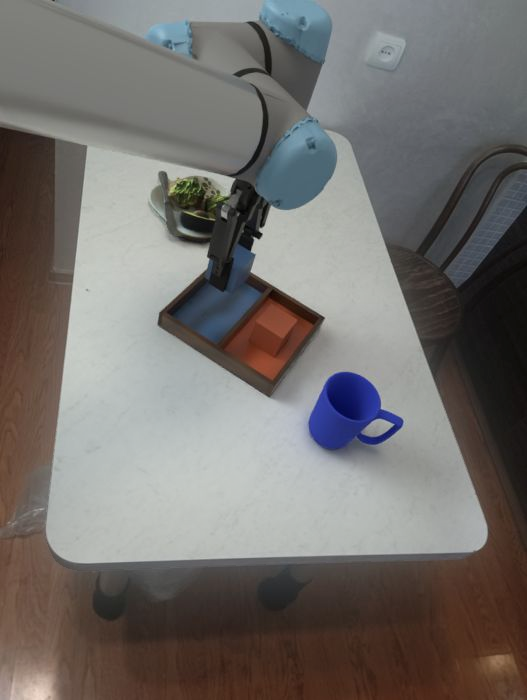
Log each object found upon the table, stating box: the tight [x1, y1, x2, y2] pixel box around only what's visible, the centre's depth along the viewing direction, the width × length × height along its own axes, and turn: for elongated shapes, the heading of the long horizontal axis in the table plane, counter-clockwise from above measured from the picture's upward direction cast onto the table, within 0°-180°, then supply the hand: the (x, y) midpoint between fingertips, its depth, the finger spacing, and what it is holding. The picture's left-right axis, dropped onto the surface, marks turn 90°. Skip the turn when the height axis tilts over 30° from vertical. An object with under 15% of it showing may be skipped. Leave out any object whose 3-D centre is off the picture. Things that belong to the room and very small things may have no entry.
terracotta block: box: [249, 304, 298, 358], centre depth 85 cm, size 5×5×5 cm
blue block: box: [205, 244, 256, 295], centre depth 81 cm, size 5×5×5 cm
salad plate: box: [148, 170, 230, 243], centre depth 102 cm, size 19×18×5 cm
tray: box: [157, 268, 326, 398], centre depth 87 cm, size 21×18×3 cm
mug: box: [308, 371, 404, 450], centre depth 77 cm, size 8×12×10 cm
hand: (227, 276), depth 83 cm, fingers closed on blue block, 5 cm apart
